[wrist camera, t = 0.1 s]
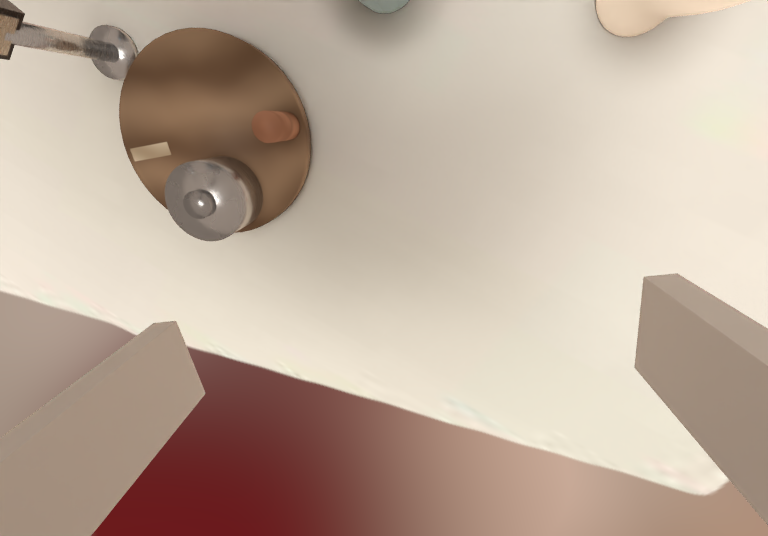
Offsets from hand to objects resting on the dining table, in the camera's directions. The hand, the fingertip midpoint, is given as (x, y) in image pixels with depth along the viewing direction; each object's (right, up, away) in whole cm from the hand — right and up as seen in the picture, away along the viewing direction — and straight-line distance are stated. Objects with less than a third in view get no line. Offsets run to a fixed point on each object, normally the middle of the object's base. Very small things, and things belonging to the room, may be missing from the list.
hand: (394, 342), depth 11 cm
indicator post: (-26, +22, +24) cm, 42 cm away
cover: (-16, +9, +26) cm, 31 cm away
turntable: (-16, +15, +26) cm, 34 cm away
